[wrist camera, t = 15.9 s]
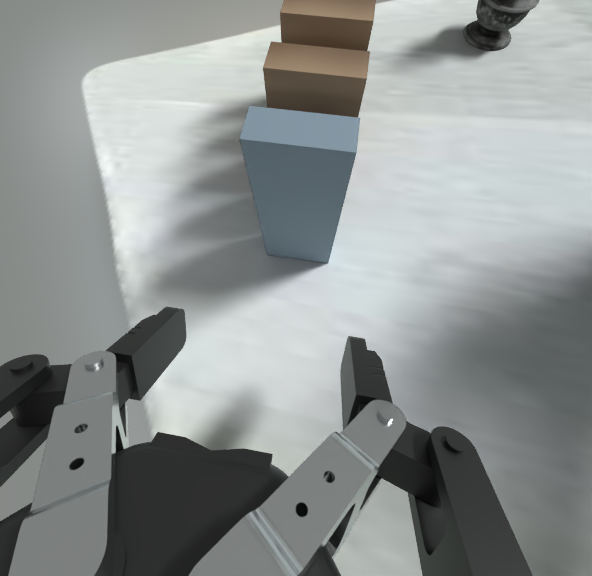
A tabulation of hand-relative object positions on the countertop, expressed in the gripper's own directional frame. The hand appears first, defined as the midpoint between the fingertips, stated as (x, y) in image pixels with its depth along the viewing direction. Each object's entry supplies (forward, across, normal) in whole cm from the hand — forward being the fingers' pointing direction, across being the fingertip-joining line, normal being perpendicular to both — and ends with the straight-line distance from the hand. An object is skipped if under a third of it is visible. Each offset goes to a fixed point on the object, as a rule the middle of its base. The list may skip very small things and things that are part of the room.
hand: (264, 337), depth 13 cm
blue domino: (+11, 0, +1) cm, 11 cm away
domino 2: (+14, 0, +5) cm, 15 cm away
